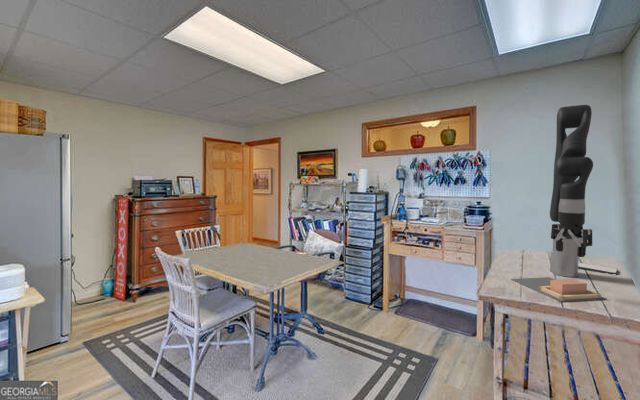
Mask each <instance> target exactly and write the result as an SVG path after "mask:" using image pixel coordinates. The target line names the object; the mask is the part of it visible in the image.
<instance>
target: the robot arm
mask: <svg viewBox="0 0 640 400" xmlns="http://www.w3.org/2000/svg"><path fill="white" fill-rule="evenodd" d="M592 113H593V112H592V107H591V106H590V104H579V105H570V106H568V105H567V106H562V107H560V108H559V109H558V110H557V114H556V137H555V138H556V145H555V154H554V155H555V156H554V162H553V184H552V185H553V186H552V187H553V188H552V195H551V201H550V208H549V217H550V220H551V221H552V222H555V223H553V224H551V229H550V231H551V232H550V239H552V251H550V257H549V259H550V261H549V262H550V263H549V271H550V272H551V273H552V274H554V275H557V276H561V277H568V278H569V277H570V278H576V277H578V276H579V269H578V263H579V261H580V259H579V258H584V257H585V256H586V253H587V247H592V246H593V229H591V228H588V229H585V228H584V227H583V226H584V225H585V222H586V187H587V184H588V183H587V182H588V180H589V177H590V176H591V173H592V171H593V168H594V162H593V160H592V158H590V157H588V156H587V155H586V154H587V140H588V135H589V132H590V127H591V122H592ZM567 129H574V130H573V131H572V132H570V133H569V134H568V135H567V131H566V130H567Z"/></svg>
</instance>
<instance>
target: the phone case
mask: <svg viewBox="0 0 640 400" xmlns="http://www.w3.org/2000/svg"><path fill="white" fill-rule="evenodd" d="M578 270H583V271H590V272H595V273H601V274H606V273H608V274H607V275H612V274H616V275H615V276H618V274H617V273H619V269H616V268H612V267H606V266H600V265H593V264H587V263H582V262H578Z"/></svg>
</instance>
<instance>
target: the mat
mask: <svg viewBox="0 0 640 400" xmlns="http://www.w3.org/2000/svg"><path fill="white" fill-rule="evenodd" d="M510 280H511V281H513V282H515V283H518V284H519V285H521V286H524V287H526V288H529V289H531V290H533V291H535V292H538V293H540V294H542V295H544V296H546V297H549V298H551V299H553V300H556V301H558V302H560V303H568V302H570V303H571V302H587V301H604V300H605V299H608V298H606V297H603V296H602V294H600V293H598V292H595V291H593V290H590V289H587V293H586V294H576V295H561V294H558V293H556V292H554V291H551V290H550V280H556V279H555V278H552V277H549V276H546V277H524V278H520V277H519V278H511V279H510ZM605 301H606V300H605Z"/></svg>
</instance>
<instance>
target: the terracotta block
mask: <svg viewBox="0 0 640 400" xmlns="http://www.w3.org/2000/svg"><path fill="white" fill-rule="evenodd" d="M587 286H588V283H587V282H584V281H581V280H580V279H579V280H578V279H576V278H567V279H565V278H563V279H555V280H550V290H551V291H554V292H556V293H558V294H561V295H576V294H586V293H587V290H588V287H587Z"/></svg>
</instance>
